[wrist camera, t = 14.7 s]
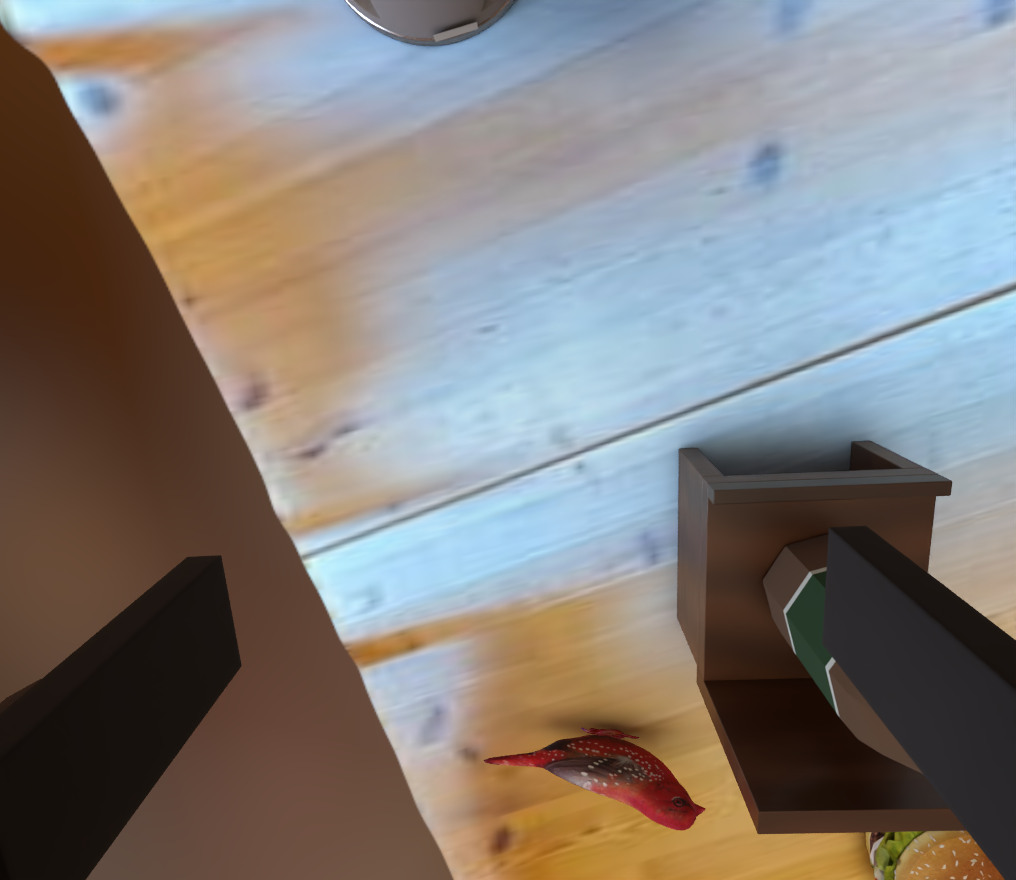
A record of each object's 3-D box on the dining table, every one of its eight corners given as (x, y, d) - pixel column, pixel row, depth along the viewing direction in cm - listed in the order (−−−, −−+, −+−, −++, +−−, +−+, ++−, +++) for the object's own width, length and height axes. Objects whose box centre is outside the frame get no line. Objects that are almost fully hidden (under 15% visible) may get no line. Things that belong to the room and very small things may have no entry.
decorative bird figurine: (680, 754, 60) (708, 847, 50) (486, 726, 60) (477, 813, 50) (686, 727, 59) (717, 816, 50) (490, 698, 59) (482, 781, 50)
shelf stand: (678, 448, 53) (770, 558, 33) (870, 440, 52) (1086, 547, 32) (676, 634, 57) (757, 834, 37) (855, 628, 56) (1038, 830, 36)
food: (843, 892, 63) (887, 978, 55) (858, 766, 60) (907, 839, 52) (992, 893, 63) (1057, 981, 55) (1016, 767, 59) (1089, 841, 51)
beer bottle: (884, 535, 45) (1265, 819, 22) (860, 638, 47) (1187, 1001, 24) (768, 525, 45) (1024, 798, 22) (750, 628, 47) (966, 981, 24)
